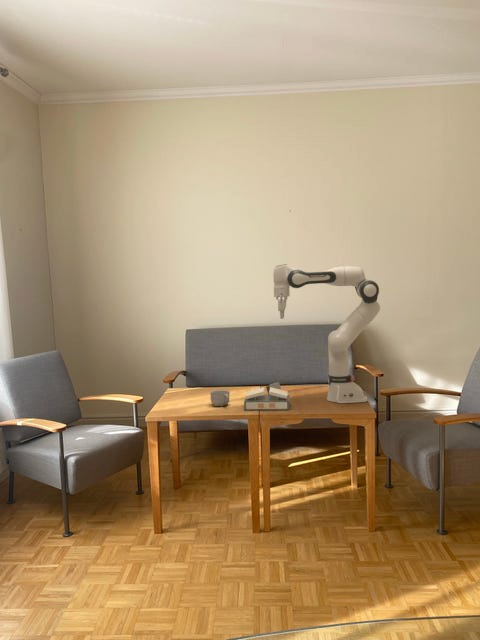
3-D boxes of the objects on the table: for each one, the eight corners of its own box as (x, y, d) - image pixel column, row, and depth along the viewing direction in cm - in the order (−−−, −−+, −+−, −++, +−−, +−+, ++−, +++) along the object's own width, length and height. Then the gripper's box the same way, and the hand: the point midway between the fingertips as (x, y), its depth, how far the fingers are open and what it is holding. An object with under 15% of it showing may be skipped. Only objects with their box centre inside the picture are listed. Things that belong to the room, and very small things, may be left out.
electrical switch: (274, 400, 315) (272, 384, 315) (266, 400, 318) (265, 384, 318) (283, 397, 322) (281, 381, 322) (276, 397, 326) (274, 381, 325)
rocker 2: (287, 394, 304) (287, 391, 304) (286, 398, 294) (287, 395, 293) (269, 389, 305) (270, 387, 305) (268, 394, 294) (269, 391, 294)
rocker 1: (265, 389, 306) (264, 387, 305) (264, 394, 295) (263, 391, 295) (248, 394, 307) (247, 391, 307) (246, 399, 296) (245, 396, 296)
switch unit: (289, 403, 306) (289, 391, 306) (289, 410, 292) (288, 397, 291) (246, 404, 309) (246, 392, 308) (244, 410, 295) (243, 398, 294)
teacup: (208, 404, 312) (207, 390, 312) (226, 402, 316) (225, 388, 315) (216, 409, 299) (215, 395, 298) (234, 407, 303) (234, 393, 302)
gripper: (286, 294, 299) (287, 319, 300) (287, 292, 319) (288, 316, 320) (275, 294, 300) (275, 319, 301) (276, 292, 320) (277, 316, 321)
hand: (282, 317), depth 311 cm, fingers open, 8 cm apart
